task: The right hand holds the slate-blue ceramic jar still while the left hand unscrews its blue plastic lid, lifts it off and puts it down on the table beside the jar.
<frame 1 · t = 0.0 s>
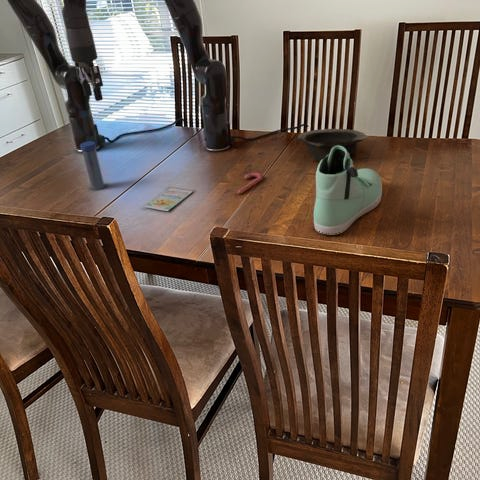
right hand: (93, 98, 152), 29 cm above the table, tool pointing down, fingers open, 8 cm apart
lid: (87, 144, 157), point 15 cm above the table, screwed on, not yet turned
baking ingredient package: (169, 200, 152), on the table
jar: (98, 187, 164), on the table
sneaker: (348, 208, 139), on the table
candy cane: (247, 185, 157), on the table
stone bowl: (330, 154, 175), on the table
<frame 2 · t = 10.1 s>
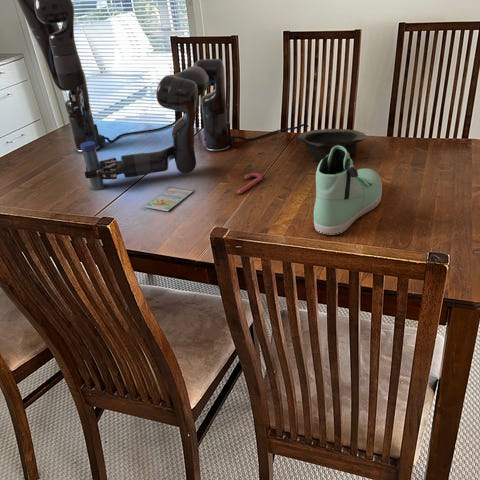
left hand: (82, 122, 153), 23 cm above the table, tool pointing down, fingers open, 7 cm apart
right hand: (86, 172, 161), 6 cm above the table, tool horizontal, fingers closed on jar, 4 cm apart
jar: (98, 187, 164), on the table, touching right hand
everything else where it was.
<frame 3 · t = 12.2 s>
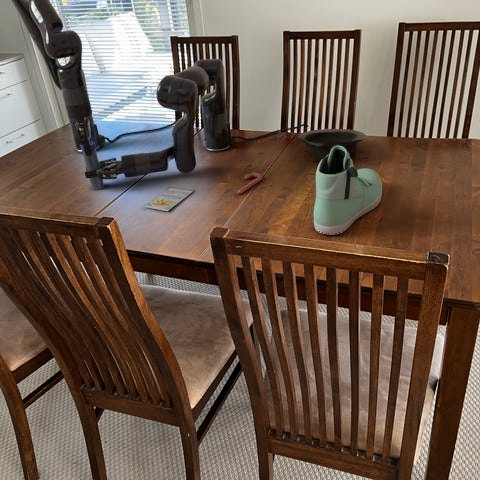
left hand: (89, 152, 158), 13 cm above the table, tool pointing down, fingers closed on lid, 4 cm apart
right hand: (86, 172, 161), 6 cm above the table, tool horizontal, fingers closed on jar, 4 cm apart
lid: (87, 144, 157), point 15 cm above the table, screwed on, not yet turned, touching left hand
jar: (98, 187, 164), on the table, touching right hand
everything else where it was.
when the left hand's fingers open (13 cm above the table, at t = 13.8 s): lid stays where it is, point 16 cm above the table.
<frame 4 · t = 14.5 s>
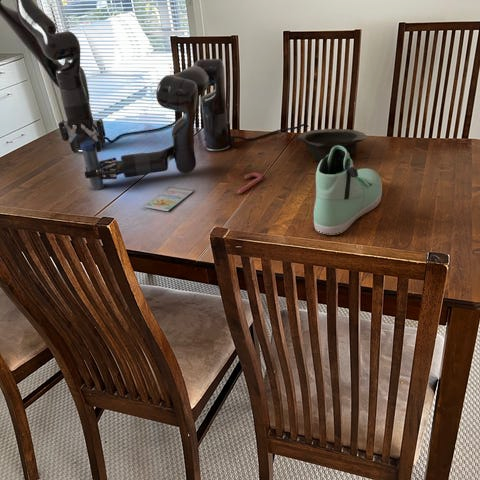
left hand: (87, 151, 158), 13 cm above the table, tool pointing down, fingers open, 7 cm apart
right hand: (85, 172, 161), 6 cm above the table, tool horizontal, fingers closed on jar, 4 cm apart
lid: (87, 144, 156), point 16 cm above the table, turned 98° so far, risen 0.2 cm, still on its thread
jar: (98, 187, 164), on the table, touching right hand
everything else where it was.
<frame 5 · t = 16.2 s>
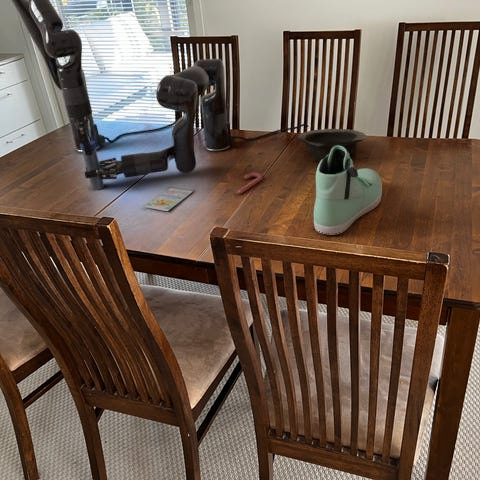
left hand: (89, 151, 158), 13 cm above the table, tool pointing down, fingers closed on lid, 4 cm apart
right hand: (85, 172, 161), 6 cm above the table, tool horizontal, fingers closed on jar, 4 cm apart
lid: (87, 144, 156), point 16 cm above the table, turned 98° so far, risen 0.2 cm, still on its thread, touching left hand
jar: (97, 187, 164), on the table, touching right hand
everything else where it was.
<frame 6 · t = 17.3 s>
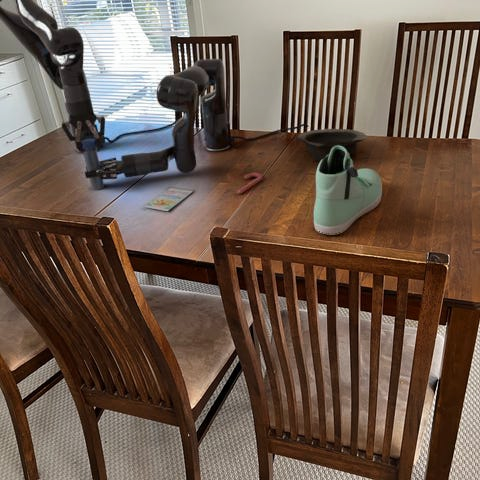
left hand: (90, 150, 158), 13 cm above the table, tool pointing down, fingers closed on lid, 4 cm apart
right hand: (86, 172, 161), 6 cm above the table, tool horizontal, fingers closed on jar, 4 cm apart
lid: (88, 142, 156), point 16 cm above the table, off its thread, touching left hand
jar: (98, 187, 164), on the table, touching right hand
everything else where it was.
when the left hand's fingers open (0 cm above the table, at t = 22.8 s): lid drops 2 cm, point 1 cm above the table.
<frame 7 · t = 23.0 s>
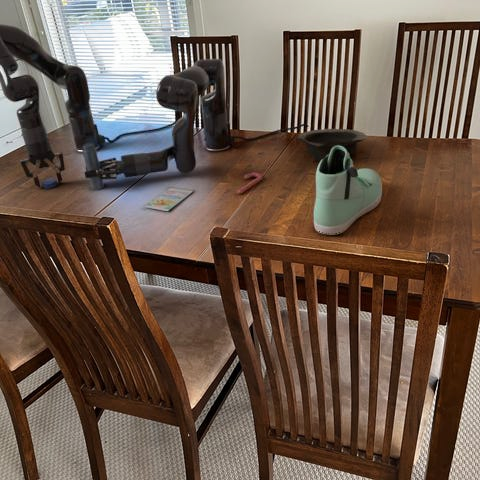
left hand: (49, 184, 168), 1 cm above the table, tool pointing down, fingers open, 6 cm apart
right hand: (85, 172, 161), 6 cm above the table, tool horizontal, fingers closed on jar, 4 cm apart
lid: (49, 182, 168), point 1 cm above the table, off its thread
jar: (97, 187, 164), on the table, touching right hand
everything else where it was.
when the right hand's fingers open (6 cm above the table, at t = 23.8 s): jar stays where it is, on the table.
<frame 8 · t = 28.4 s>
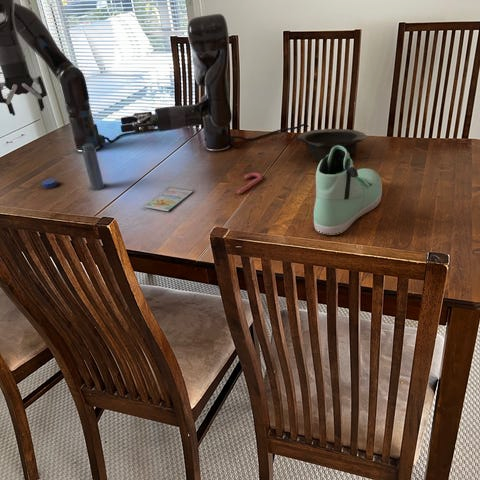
left hand: (28, 112, 155), 26 cm above the table, tool pointing down, fingers open, 8 cm apart
right hand: (121, 125, 156), 20 cm above the table, tool horizontal, fingers open, 8 cm apart
jar: (97, 187, 164), on the table
everything else where it was.
at the end: lid came off its thread; lid point 1.4 cm above the table; the left hand is holding nothing; the right hand is holding nothing; jar tilted 0°; jar moved 0.1 cm from its start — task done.
